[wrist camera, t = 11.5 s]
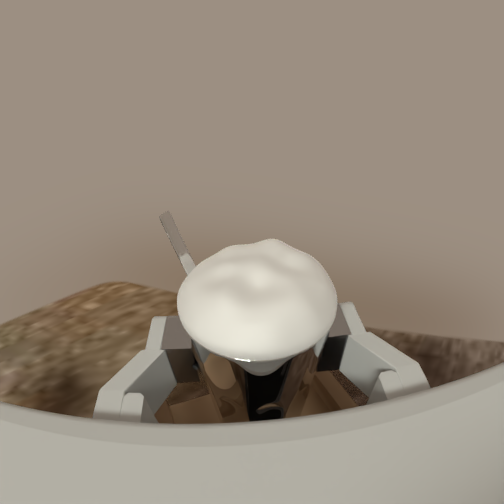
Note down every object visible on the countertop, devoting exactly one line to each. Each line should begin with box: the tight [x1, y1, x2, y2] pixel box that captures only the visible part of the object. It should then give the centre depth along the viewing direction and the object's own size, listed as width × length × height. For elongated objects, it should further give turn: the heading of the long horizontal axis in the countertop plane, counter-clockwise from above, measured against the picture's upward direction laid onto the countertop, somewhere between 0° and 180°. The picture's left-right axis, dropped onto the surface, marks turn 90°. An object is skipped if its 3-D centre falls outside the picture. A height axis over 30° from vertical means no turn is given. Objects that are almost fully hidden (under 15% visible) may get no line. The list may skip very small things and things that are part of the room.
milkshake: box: [159, 211, 337, 423], centre depth 11 cm, size 4×5×10 cm
